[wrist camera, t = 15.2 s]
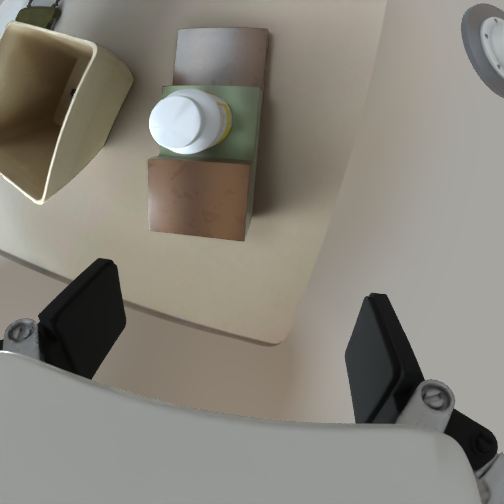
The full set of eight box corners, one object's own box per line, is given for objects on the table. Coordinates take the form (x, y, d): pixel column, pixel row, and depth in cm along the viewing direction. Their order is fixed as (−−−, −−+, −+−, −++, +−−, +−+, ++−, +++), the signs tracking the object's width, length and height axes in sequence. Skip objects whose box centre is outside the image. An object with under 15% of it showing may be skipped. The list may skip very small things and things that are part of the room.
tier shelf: (268, 32, 31) (264, 10, 23) (252, 217, 43) (244, 241, 35) (183, 32, 32) (158, 14, 24) (173, 209, 44) (149, 230, 36)
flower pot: (164, 66, 34) (99, 44, 19) (111, 176, 42) (41, 209, 27) (79, 34, 32) (8, 19, 16) (39, 131, 39) (-31, 149, 24)
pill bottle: (173, 108, 32) (128, 107, 22) (221, 85, 30) (193, 71, 20) (194, 154, 34) (156, 171, 24) (243, 133, 33) (224, 140, 22)
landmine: (1, 45, 29) (30, -20, 22) (10, 46, 31) (38, -17, 25) (38, 49, 30) (73, -25, 24) (47, 50, 33) (81, -21, 26)
